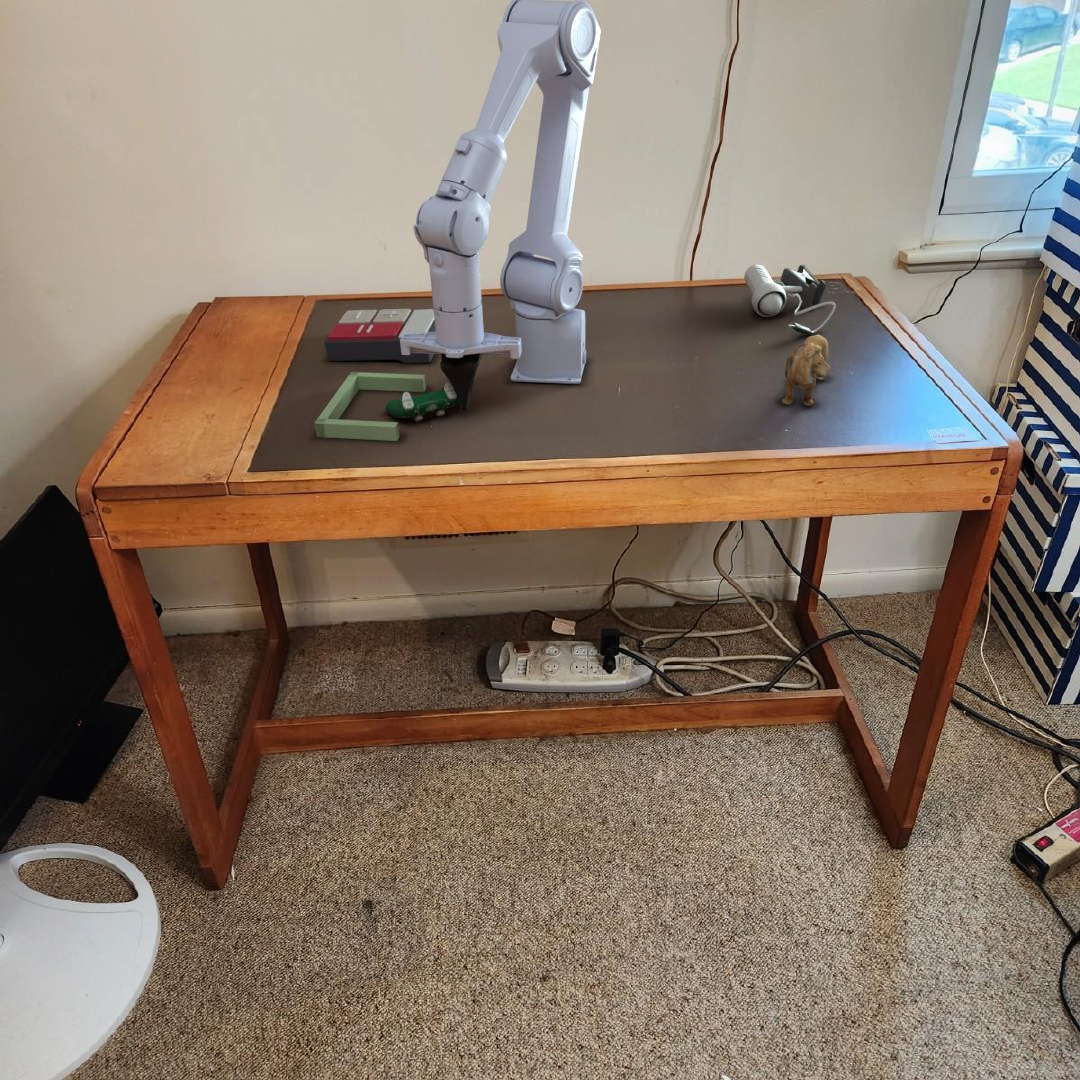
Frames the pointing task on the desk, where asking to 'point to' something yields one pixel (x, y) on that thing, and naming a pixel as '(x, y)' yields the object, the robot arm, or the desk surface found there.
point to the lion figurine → (806, 368)
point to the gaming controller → (423, 403)
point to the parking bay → (365, 430)
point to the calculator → (378, 335)
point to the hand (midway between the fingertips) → (465, 407)
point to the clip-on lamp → (773, 297)
